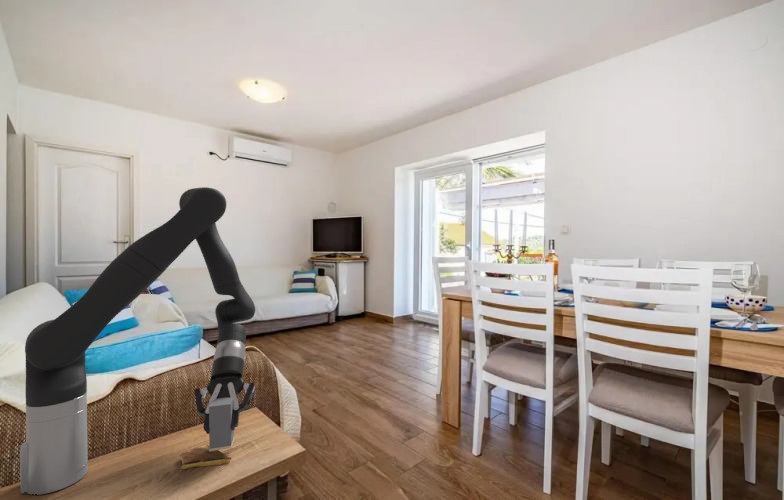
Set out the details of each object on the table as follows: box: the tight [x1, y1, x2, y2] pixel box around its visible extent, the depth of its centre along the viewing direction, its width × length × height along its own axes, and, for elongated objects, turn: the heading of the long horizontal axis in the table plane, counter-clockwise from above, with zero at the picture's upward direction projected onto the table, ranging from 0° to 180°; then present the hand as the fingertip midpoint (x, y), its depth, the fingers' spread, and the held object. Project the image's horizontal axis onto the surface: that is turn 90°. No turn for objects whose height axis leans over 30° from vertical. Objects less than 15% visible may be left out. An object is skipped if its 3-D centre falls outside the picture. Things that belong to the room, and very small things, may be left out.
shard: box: [177, 444, 232, 470], centre depth 79 cm, size 11×8×2 cm
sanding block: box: [208, 397, 236, 451], centre depth 82 cm, size 5×5×10 cm
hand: (220, 430), depth 80 cm, fingers closed on sanding block, 4 cm apart
